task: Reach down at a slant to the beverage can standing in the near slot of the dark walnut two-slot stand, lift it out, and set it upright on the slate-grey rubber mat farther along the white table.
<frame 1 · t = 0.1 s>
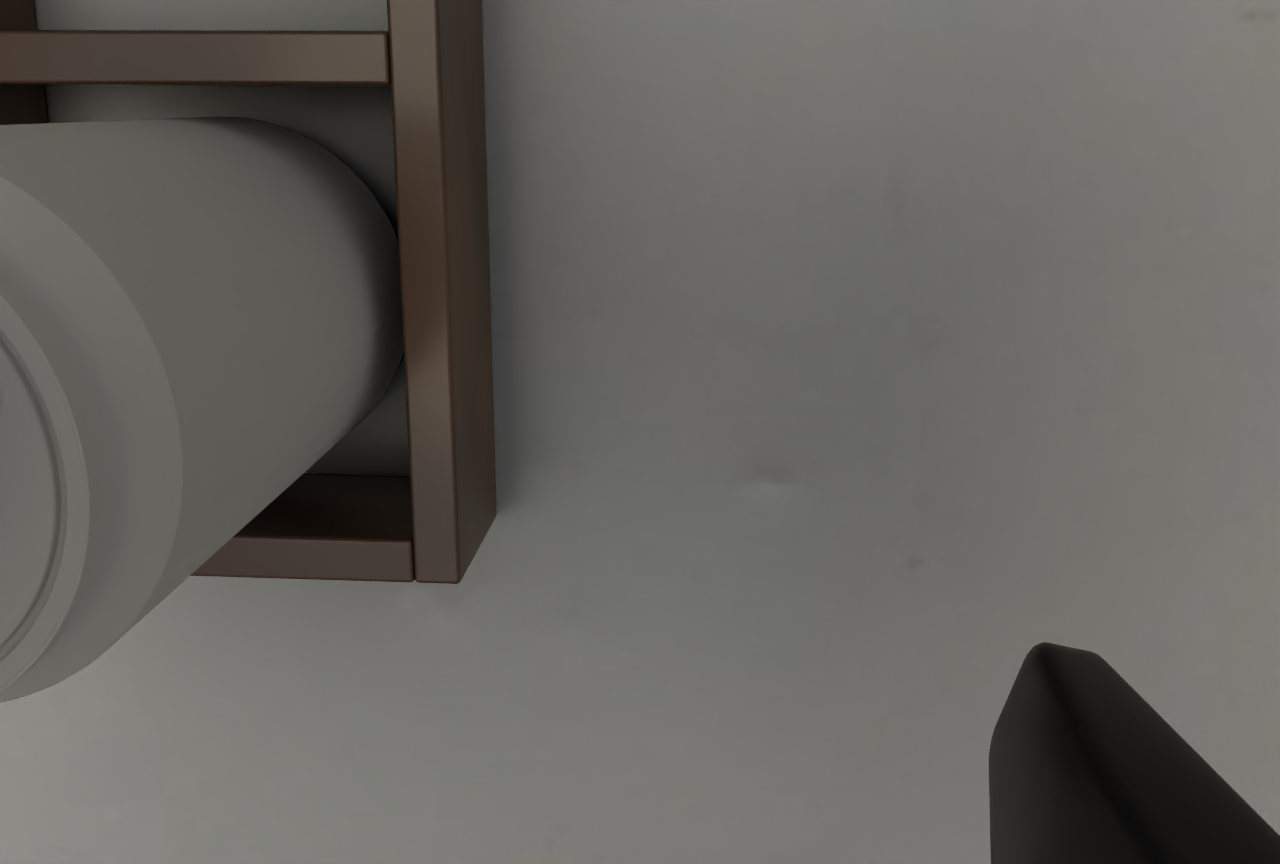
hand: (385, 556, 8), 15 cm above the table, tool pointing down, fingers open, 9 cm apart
can stand: (239, 63, 22), on the table
beverage can: (260, 286, 23), resting in can stand
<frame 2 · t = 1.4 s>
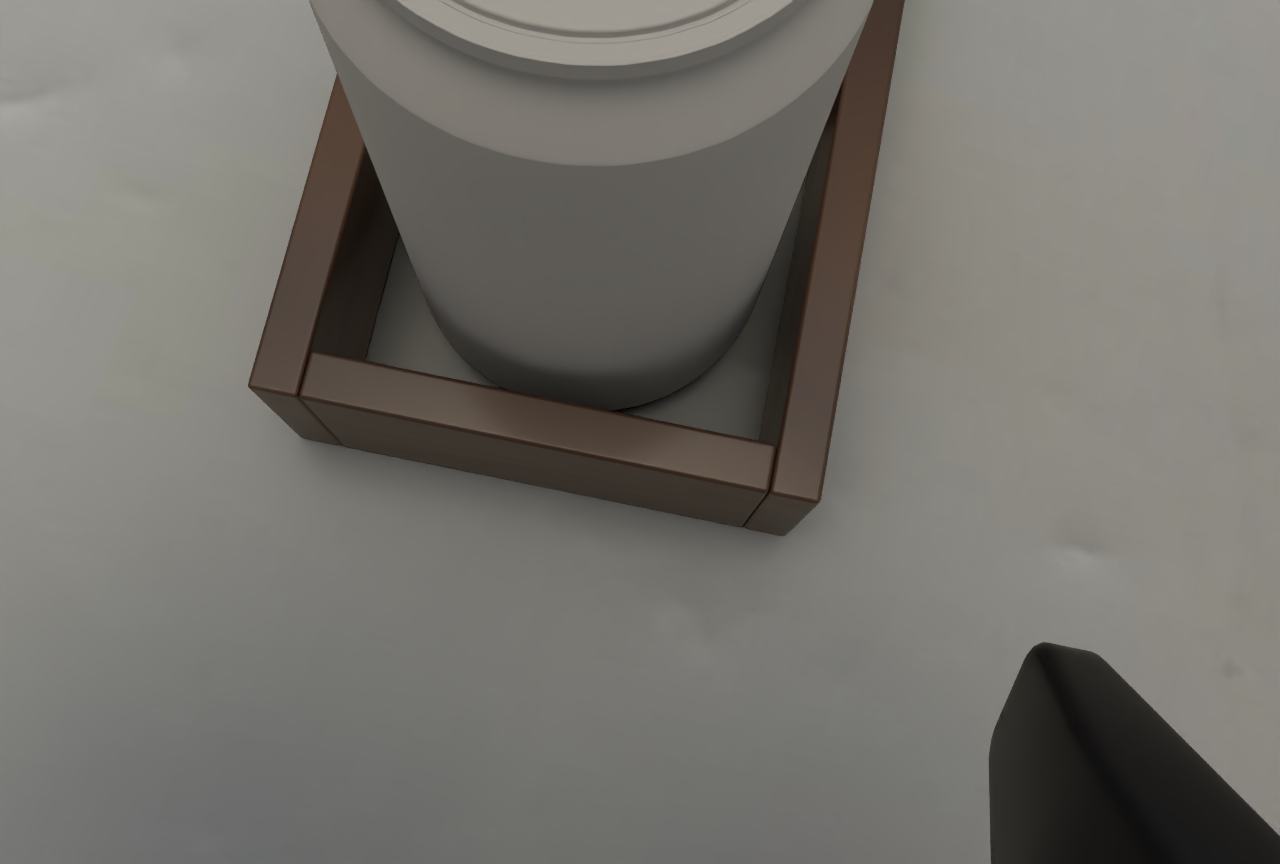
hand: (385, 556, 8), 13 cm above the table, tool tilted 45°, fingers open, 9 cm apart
can stand: (635, 67, 24), on the table
beverage can: (593, 262, 23), resting in can stand
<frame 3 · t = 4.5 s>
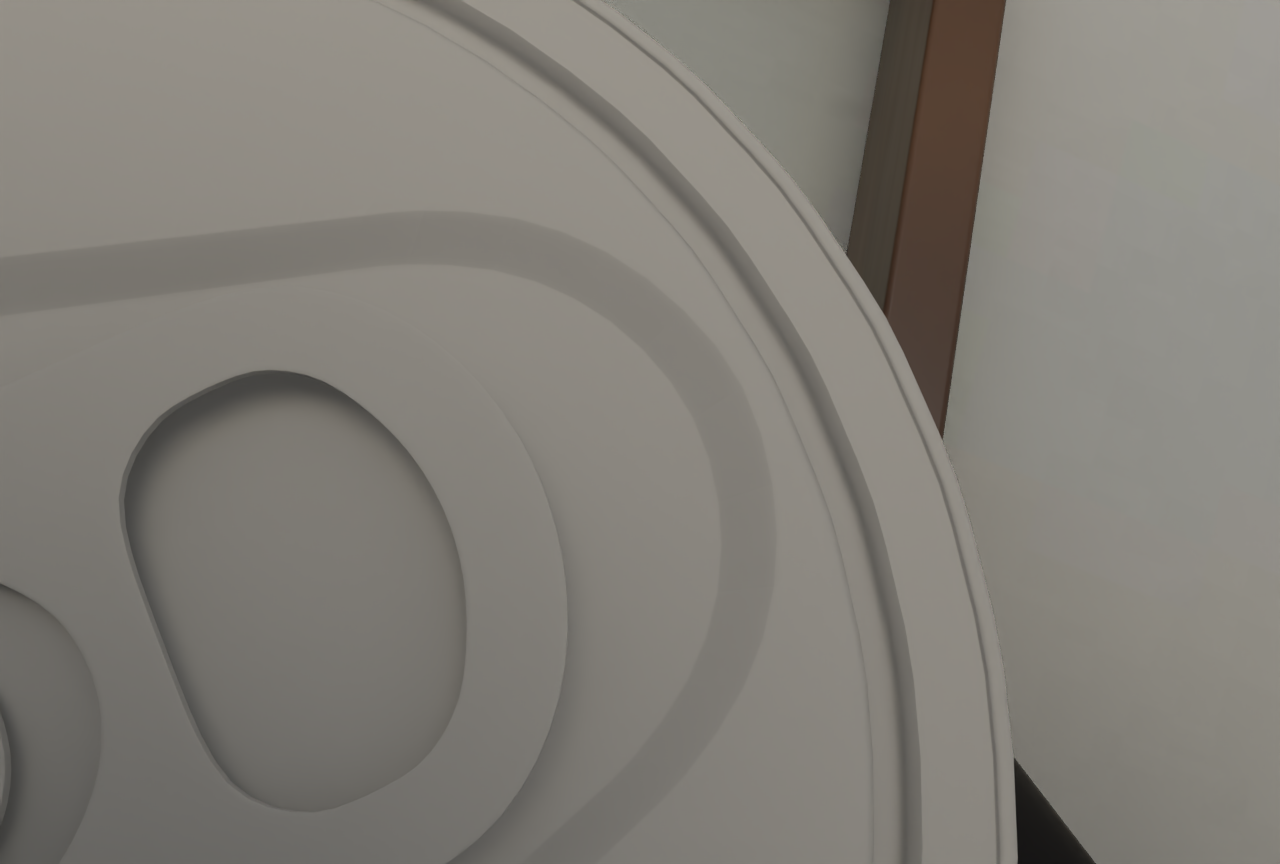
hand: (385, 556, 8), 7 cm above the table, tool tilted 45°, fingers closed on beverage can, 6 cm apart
can stand: (520, 427, 16), on the table
beverage can: (445, 753, 15), resting in can stand, touching gripper
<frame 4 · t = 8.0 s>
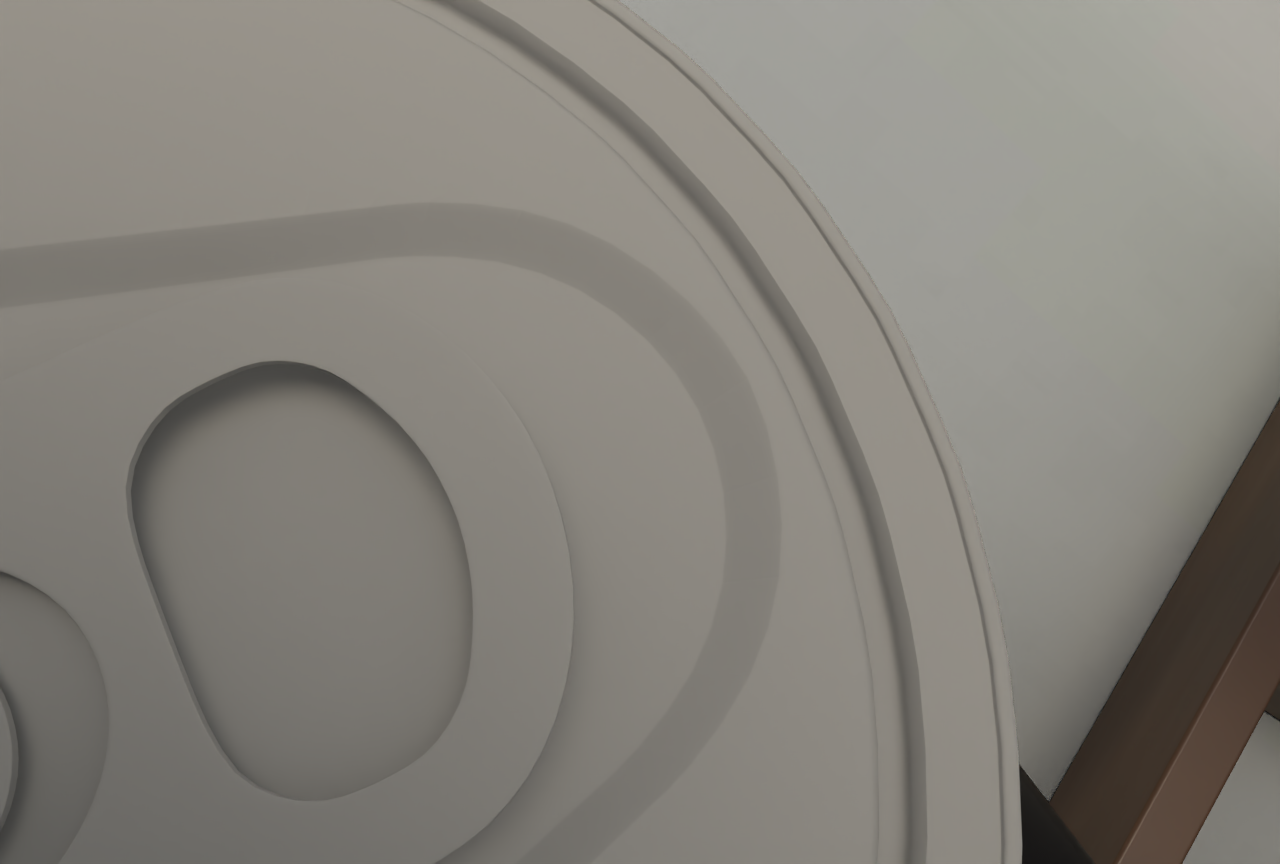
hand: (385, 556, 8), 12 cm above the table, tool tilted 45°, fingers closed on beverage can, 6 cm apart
beverage can: (446, 750, 15), point 5 cm above the table, touching gripper
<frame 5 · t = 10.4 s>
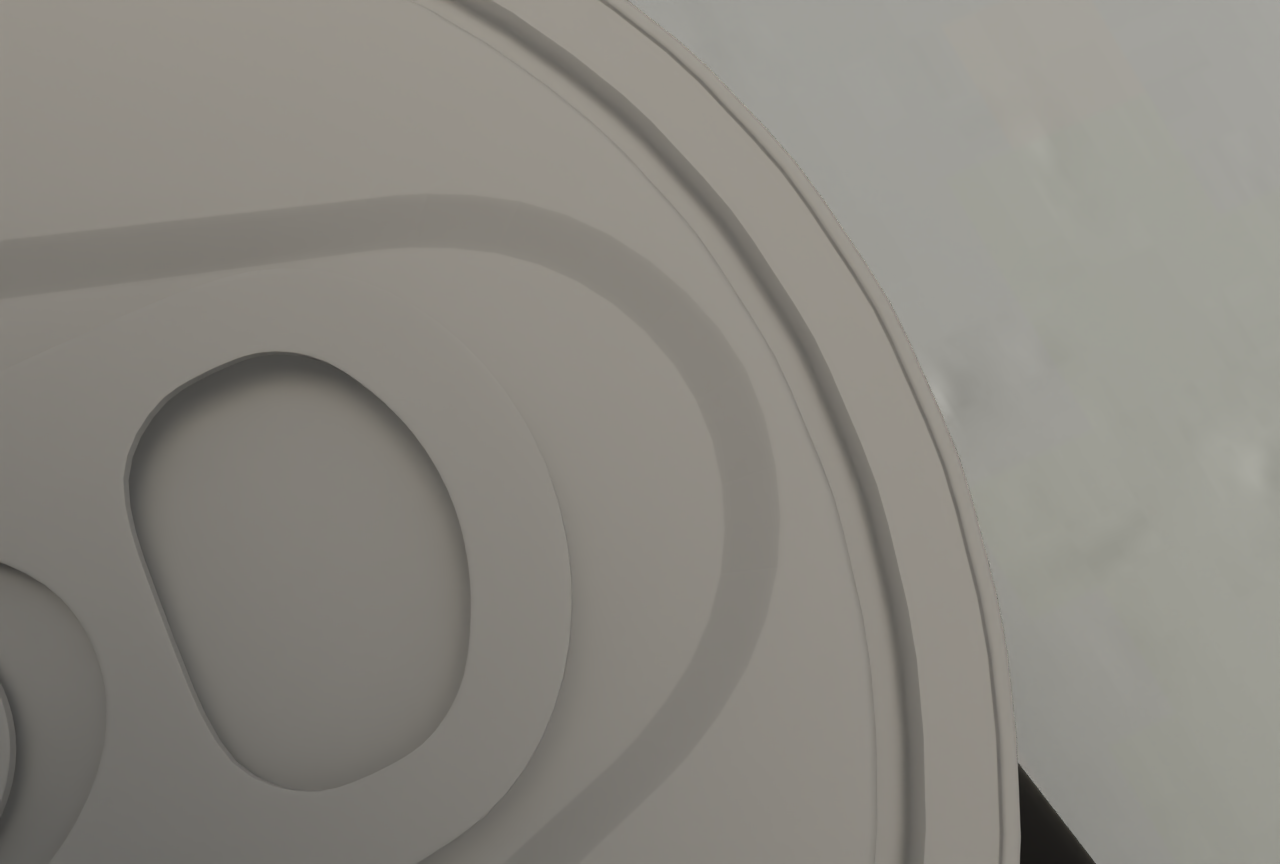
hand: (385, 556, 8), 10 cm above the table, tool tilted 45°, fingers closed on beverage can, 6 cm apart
beverage can: (446, 748, 15), point 4 cm above the table, touching gripper
when the fingers open (7 cm above the table, at t = 11.9 s): beverage can stays where it is, resting on mat.
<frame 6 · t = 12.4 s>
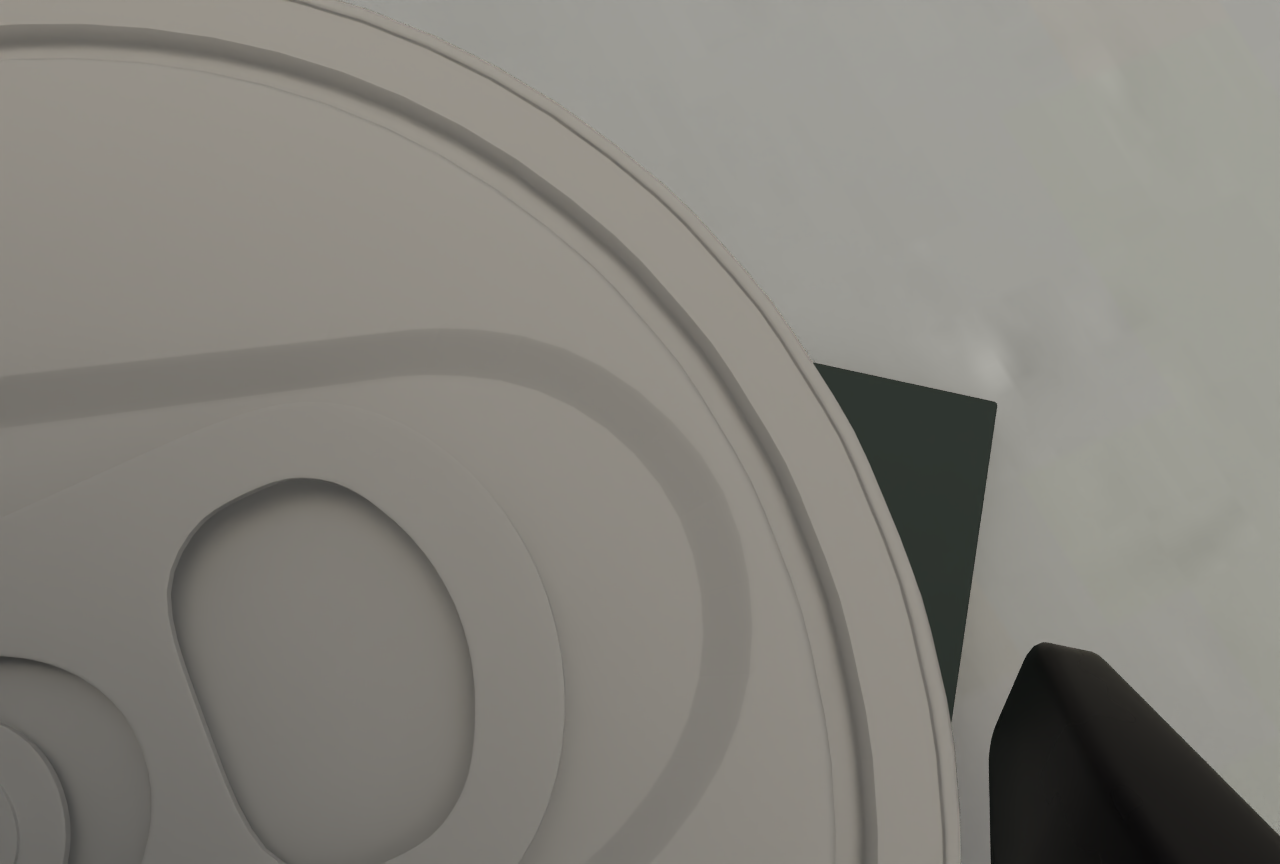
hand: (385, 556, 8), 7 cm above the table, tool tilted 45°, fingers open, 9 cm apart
beverage can: (447, 767, 15), resting on mat
mat: (454, 757, 15), on the table
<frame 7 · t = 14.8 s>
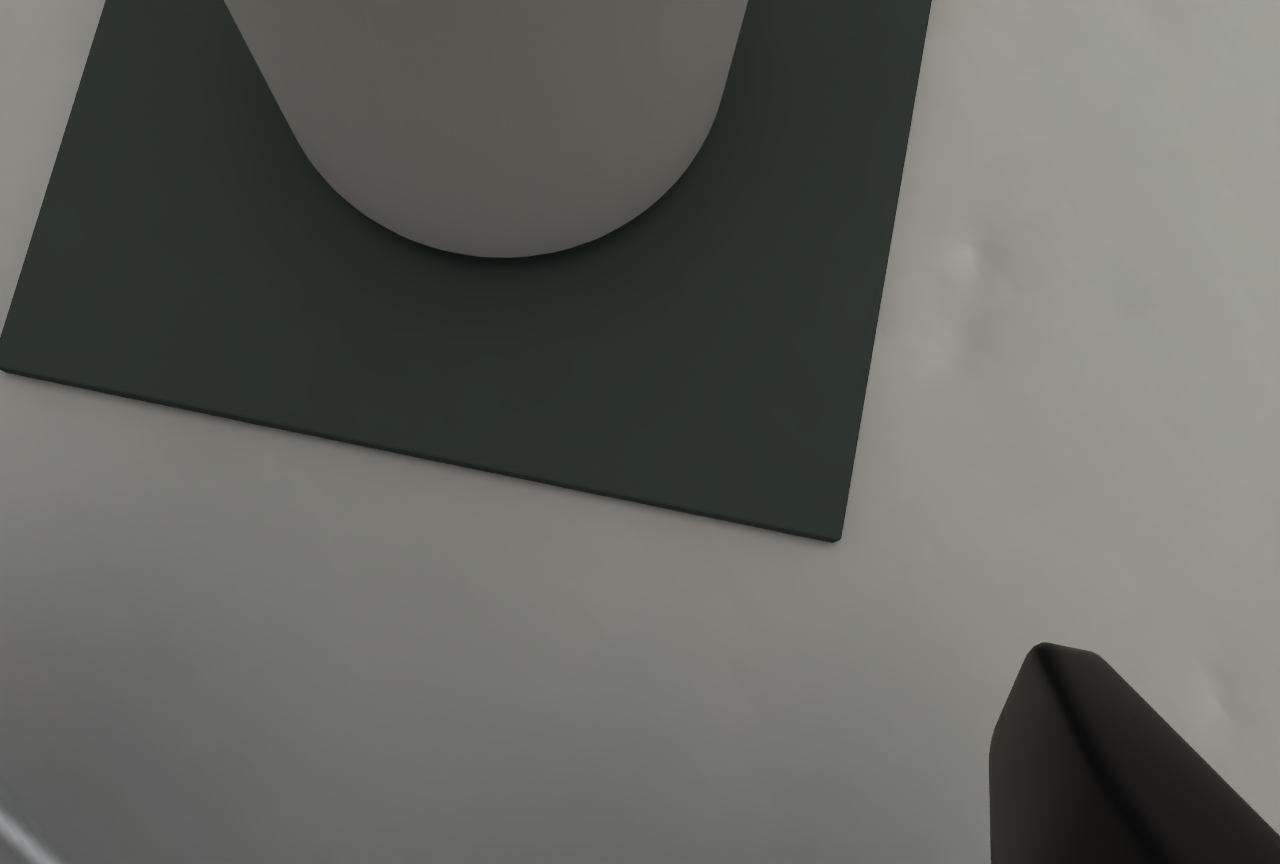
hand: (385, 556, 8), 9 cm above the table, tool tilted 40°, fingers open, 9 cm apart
beverage can: (508, 74, 18), resting on mat
mat: (512, 74, 18), on the table
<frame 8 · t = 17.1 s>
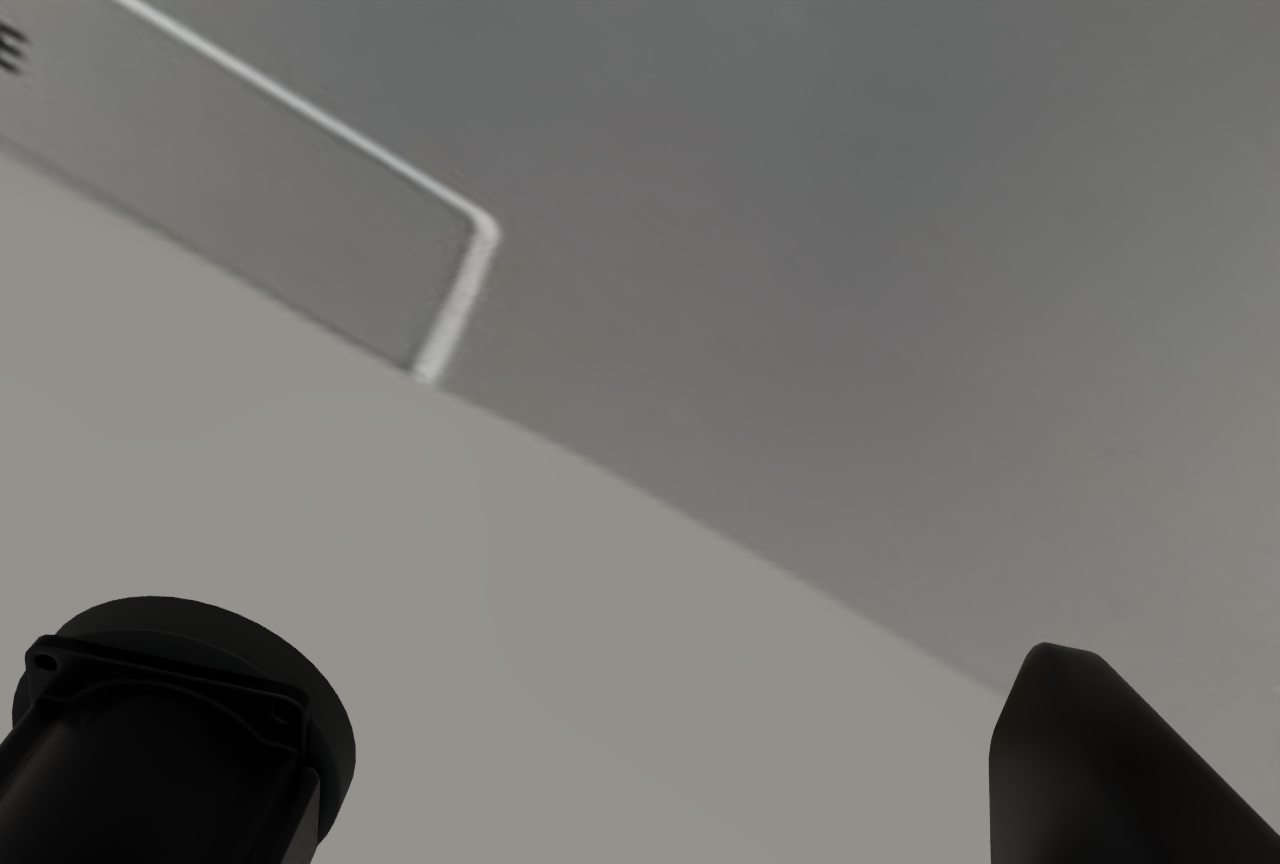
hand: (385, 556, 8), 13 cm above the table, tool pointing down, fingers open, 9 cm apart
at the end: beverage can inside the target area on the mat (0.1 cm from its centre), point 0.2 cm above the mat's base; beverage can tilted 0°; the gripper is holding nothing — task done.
